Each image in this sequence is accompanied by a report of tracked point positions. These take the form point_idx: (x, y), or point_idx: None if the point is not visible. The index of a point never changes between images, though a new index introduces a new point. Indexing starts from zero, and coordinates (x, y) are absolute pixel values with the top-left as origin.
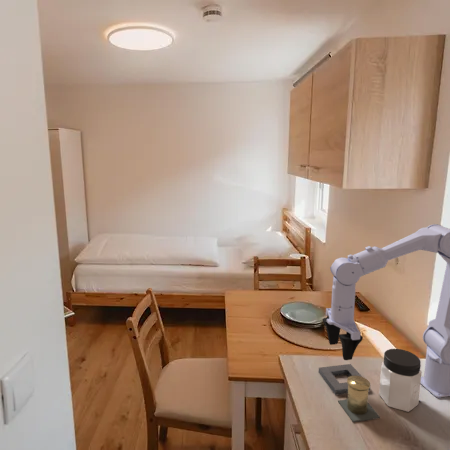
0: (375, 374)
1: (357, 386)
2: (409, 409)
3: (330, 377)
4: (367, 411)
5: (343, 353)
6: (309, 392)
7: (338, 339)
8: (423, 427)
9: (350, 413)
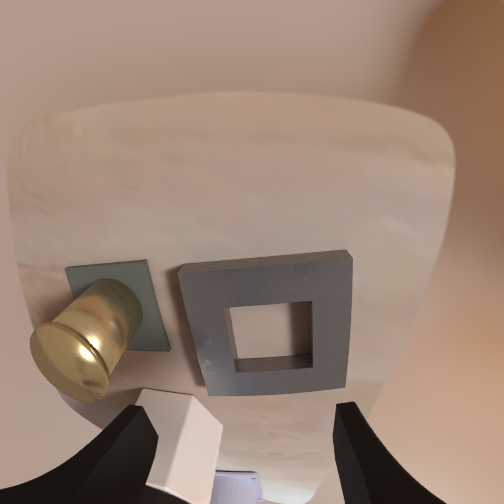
0: (293, 422)
1: (38, 347)
2: None
3: (267, 285)
4: None
5: (105, 433)
6: (205, 158)
7: (337, 466)
8: (93, 404)
9: (90, 275)
